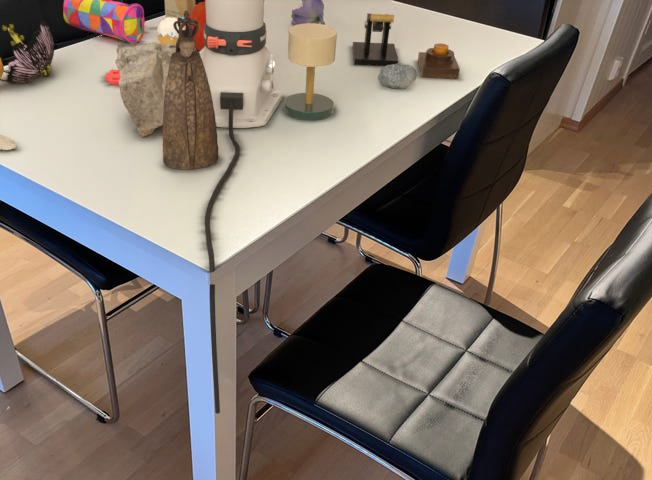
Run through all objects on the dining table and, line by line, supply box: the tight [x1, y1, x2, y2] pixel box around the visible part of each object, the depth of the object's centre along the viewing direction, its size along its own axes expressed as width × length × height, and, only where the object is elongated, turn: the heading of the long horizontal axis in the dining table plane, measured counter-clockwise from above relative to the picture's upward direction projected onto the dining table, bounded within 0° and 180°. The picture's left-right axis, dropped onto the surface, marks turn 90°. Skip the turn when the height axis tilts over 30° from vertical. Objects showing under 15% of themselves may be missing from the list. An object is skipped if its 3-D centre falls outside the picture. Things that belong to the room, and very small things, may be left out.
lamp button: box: [433, 42, 450, 55], centre depth 153 cm, size 3×3×2 cm
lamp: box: [283, 23, 338, 121], centre depth 132 cm, size 10×10×15 cm
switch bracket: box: [352, 13, 399, 67], centre depth 158 cm, size 12×10×9 cm
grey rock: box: [377, 62, 418, 89], centre depth 146 cm, size 8×4×5 cm, turn 89°
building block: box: [105, 69, 120, 87], centre depth 146 cm, size 1×8×8 cm
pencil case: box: [62, 0, 146, 44], centre depth 164 cm, size 22×9×9 cm
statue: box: [162, 11, 220, 170], centre depth 110 cm, size 9×8×25 cm
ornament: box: [156, 16, 186, 46], centre depth 158 cm, size 7×7×8 cm
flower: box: [290, 0, 326, 26], centre depth 172 cm, size 9×9×10 cm
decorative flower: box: [0, 20, 55, 85], centre depth 141 cm, size 14×12×15 cm
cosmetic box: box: [164, 0, 197, 27], centre depth 161 cm, size 6×4×12 cm
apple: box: [189, 1, 206, 52], centre depth 157 cm, size 11×11×11 cm
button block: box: [417, 47, 461, 80], centre depth 154 cm, size 10×8×4 cm
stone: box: [114, 41, 176, 138], centre depth 126 cm, size 13×17×15 cm
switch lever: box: [370, 13, 395, 33], centre depth 152 cm, size 11×5×2 cm, turn 177°
